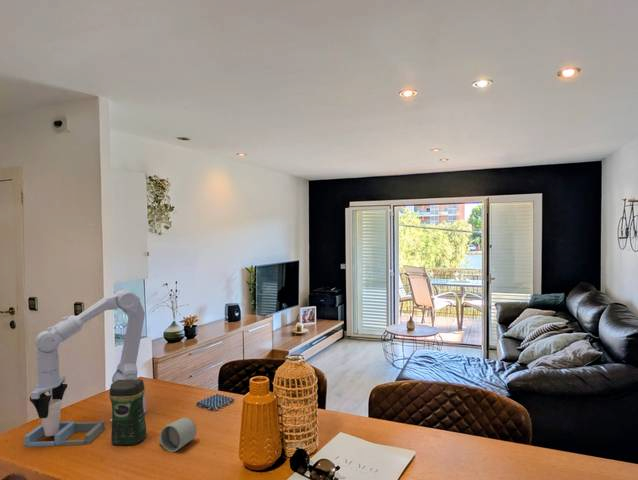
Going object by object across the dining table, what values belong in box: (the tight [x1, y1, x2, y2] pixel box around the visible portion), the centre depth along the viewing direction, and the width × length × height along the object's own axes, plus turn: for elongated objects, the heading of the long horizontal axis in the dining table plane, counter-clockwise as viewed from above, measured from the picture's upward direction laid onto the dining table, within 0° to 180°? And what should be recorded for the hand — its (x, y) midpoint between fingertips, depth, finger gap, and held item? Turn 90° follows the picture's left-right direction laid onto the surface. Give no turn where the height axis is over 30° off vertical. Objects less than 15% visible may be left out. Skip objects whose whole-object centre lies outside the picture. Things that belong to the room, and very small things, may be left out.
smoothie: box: [40, 389, 63, 437], centre depth 133 cm, size 6×6×14 cm
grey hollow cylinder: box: [158, 417, 197, 453], centre depth 127 cm, size 11×8×8 cm
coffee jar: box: [109, 378, 147, 446], centre depth 131 cm, size 10×8×19 cm
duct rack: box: [23, 420, 106, 448], centre depth 133 cm, size 20×10×3 cm, turn 92°
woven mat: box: [195, 393, 235, 413], centre depth 156 cm, size 10×11×2 cm
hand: (50, 413), depth 133 cm, fingers closed on smoothie, 6 cm apart
